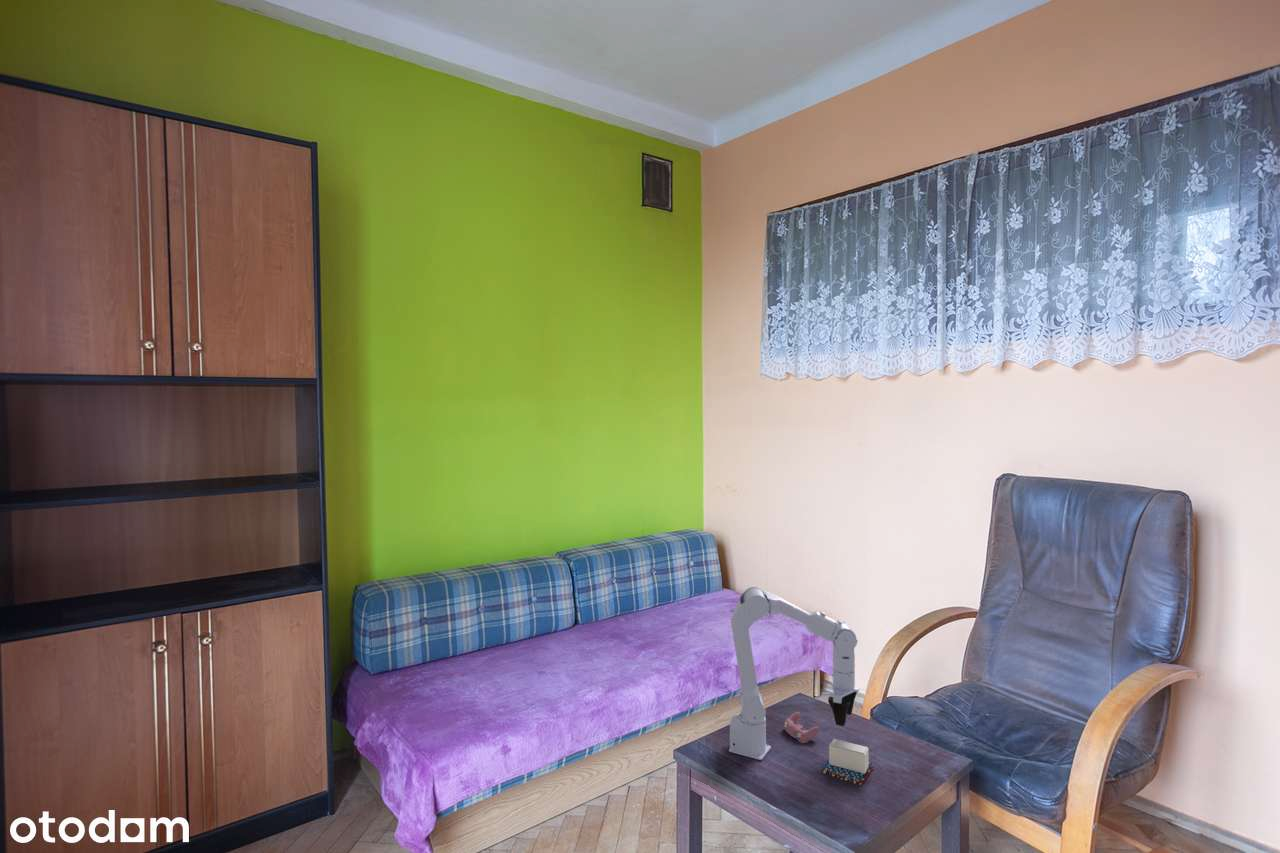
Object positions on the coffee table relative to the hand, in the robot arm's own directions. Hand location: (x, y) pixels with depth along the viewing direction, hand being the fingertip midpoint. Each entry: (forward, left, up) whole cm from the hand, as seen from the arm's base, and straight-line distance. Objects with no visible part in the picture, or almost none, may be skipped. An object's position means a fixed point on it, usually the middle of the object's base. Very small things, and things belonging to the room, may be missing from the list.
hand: (843, 719), depth 181 cm
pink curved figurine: (-11, +7, -7) cm, 15 cm away
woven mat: (+3, -8, -10) cm, 13 cm away
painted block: (+3, -8, -8) cm, 12 cm away
